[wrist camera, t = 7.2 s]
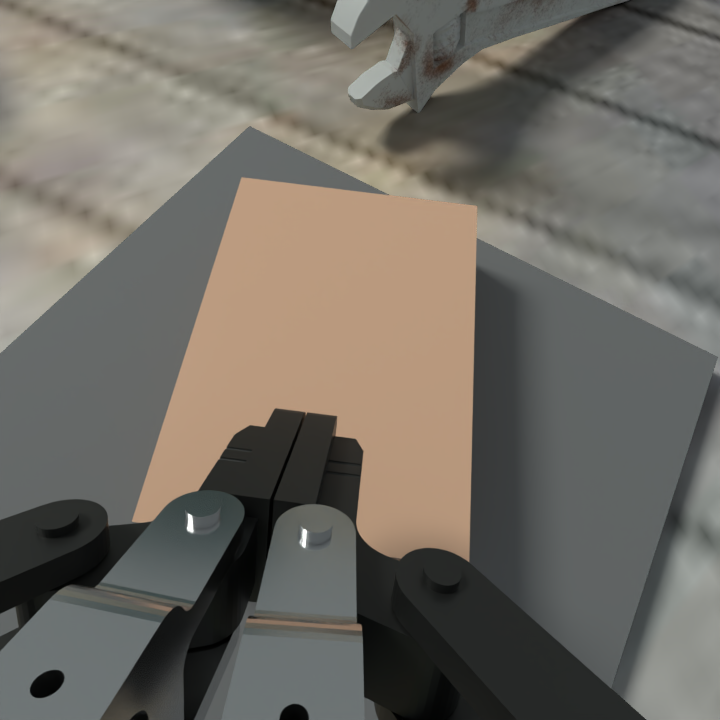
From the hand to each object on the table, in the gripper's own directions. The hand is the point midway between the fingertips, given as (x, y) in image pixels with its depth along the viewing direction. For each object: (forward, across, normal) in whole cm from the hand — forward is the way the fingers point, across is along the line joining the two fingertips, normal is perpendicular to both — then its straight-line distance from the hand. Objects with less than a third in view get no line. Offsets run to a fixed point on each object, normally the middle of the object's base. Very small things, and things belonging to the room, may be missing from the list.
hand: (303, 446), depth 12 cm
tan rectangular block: (+2, 0, +5) cm, 5 cm away
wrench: (+28, -8, -16) cm, 33 cm away
